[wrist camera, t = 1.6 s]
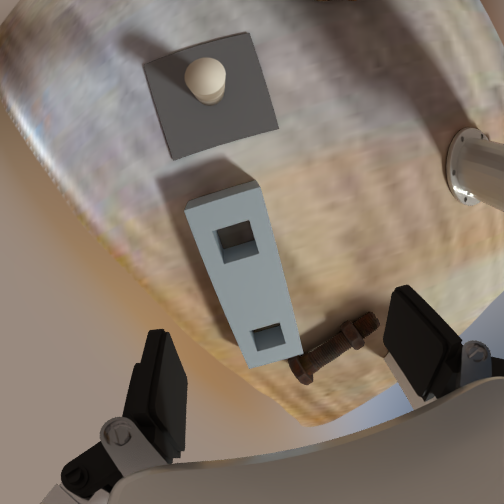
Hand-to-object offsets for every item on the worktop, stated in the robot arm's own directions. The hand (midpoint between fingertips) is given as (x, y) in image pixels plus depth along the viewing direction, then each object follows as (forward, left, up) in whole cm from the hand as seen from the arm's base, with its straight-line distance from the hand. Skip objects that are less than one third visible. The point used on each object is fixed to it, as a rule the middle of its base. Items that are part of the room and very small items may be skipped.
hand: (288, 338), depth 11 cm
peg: (0, -13, -23) cm, 26 cm away
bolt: (-7, +26, -24) cm, 36 cm away
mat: (0, -13, -23) cm, 27 cm away
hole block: (+2, +10, -23) cm, 26 cm away
